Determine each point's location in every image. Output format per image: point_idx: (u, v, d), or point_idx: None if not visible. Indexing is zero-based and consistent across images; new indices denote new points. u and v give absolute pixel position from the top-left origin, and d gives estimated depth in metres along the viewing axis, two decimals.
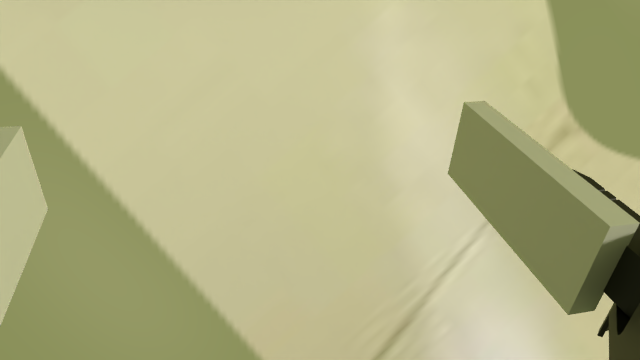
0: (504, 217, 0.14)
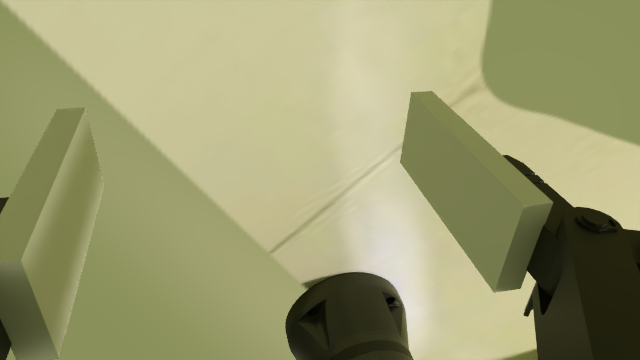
0: (443, 202, 0.14)
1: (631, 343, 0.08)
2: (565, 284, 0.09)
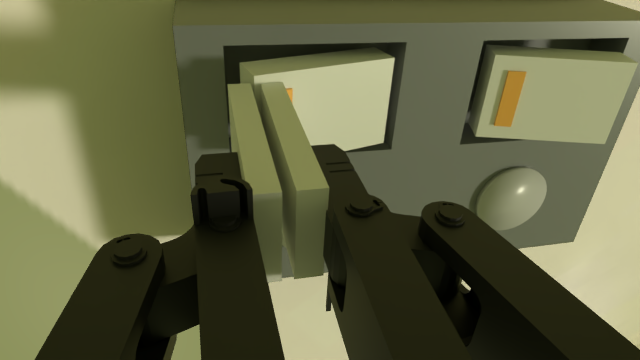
0: None
1: (420, 327, 0.08)
2: (352, 281, 0.09)
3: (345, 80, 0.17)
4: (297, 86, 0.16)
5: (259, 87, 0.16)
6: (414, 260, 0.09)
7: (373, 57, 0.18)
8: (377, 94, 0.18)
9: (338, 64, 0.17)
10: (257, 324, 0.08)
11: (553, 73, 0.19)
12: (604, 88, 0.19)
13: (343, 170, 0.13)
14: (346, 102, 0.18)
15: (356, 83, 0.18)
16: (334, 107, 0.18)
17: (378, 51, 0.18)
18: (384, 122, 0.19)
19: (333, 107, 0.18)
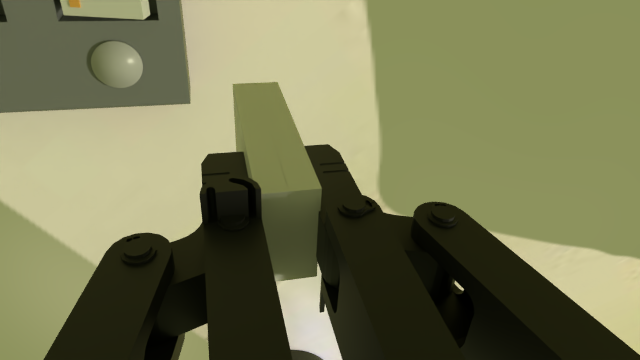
0: None
1: (414, 328, 0.08)
2: (345, 282, 0.09)
3: None
4: None
5: None
6: (407, 261, 0.09)
7: None
8: None
9: None
10: (265, 323, 0.08)
11: None
12: None
13: (337, 170, 0.13)
14: None
15: None
16: None
17: None
18: None
19: None
